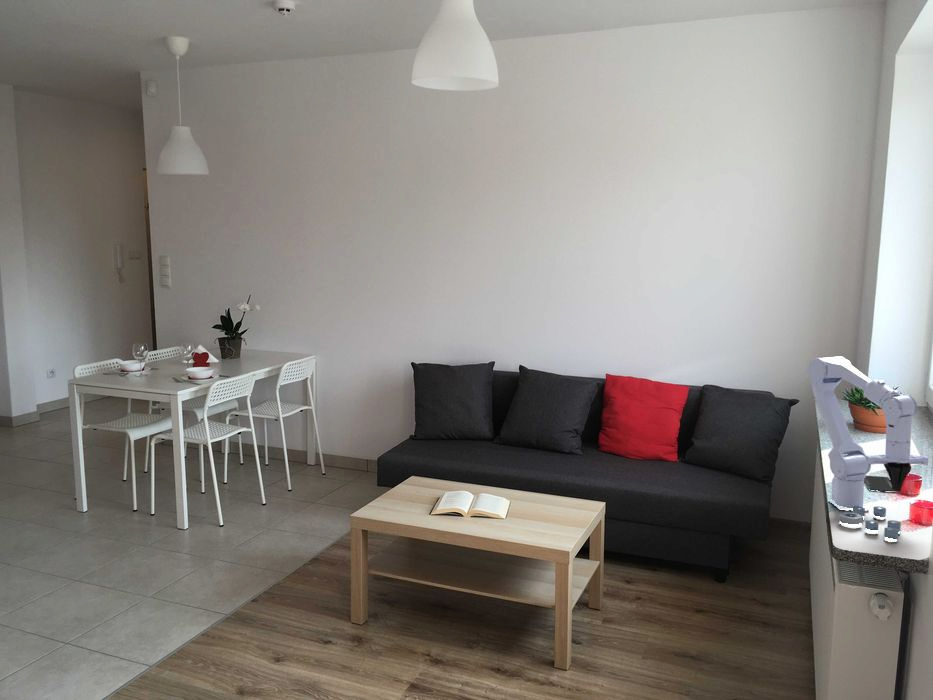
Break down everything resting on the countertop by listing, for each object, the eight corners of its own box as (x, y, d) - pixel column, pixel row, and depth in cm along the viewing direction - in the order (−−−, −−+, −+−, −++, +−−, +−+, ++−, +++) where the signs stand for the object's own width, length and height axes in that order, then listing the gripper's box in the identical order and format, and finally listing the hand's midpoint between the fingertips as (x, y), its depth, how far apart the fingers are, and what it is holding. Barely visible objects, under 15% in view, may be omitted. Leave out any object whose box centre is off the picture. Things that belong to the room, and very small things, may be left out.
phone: (887, 476, 244) (897, 490, 230) (887, 480, 245) (897, 494, 230) (860, 475, 247) (868, 488, 233) (860, 478, 247) (868, 492, 233)
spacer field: (846, 516, 211) (847, 506, 211) (882, 516, 210) (883, 506, 210) (876, 542, 192) (877, 531, 192) (916, 543, 191) (917, 531, 191)
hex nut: (836, 522, 208) (836, 511, 207) (855, 522, 207) (856, 511, 207) (844, 529, 202) (845, 518, 202) (864, 529, 201) (864, 518, 201)
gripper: (875, 444, 199) (873, 494, 201) (934, 444, 197) (932, 495, 199) (864, 437, 206) (863, 486, 207) (922, 437, 204) (920, 487, 206)
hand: (896, 490), depth 204 cm, fingers closed
